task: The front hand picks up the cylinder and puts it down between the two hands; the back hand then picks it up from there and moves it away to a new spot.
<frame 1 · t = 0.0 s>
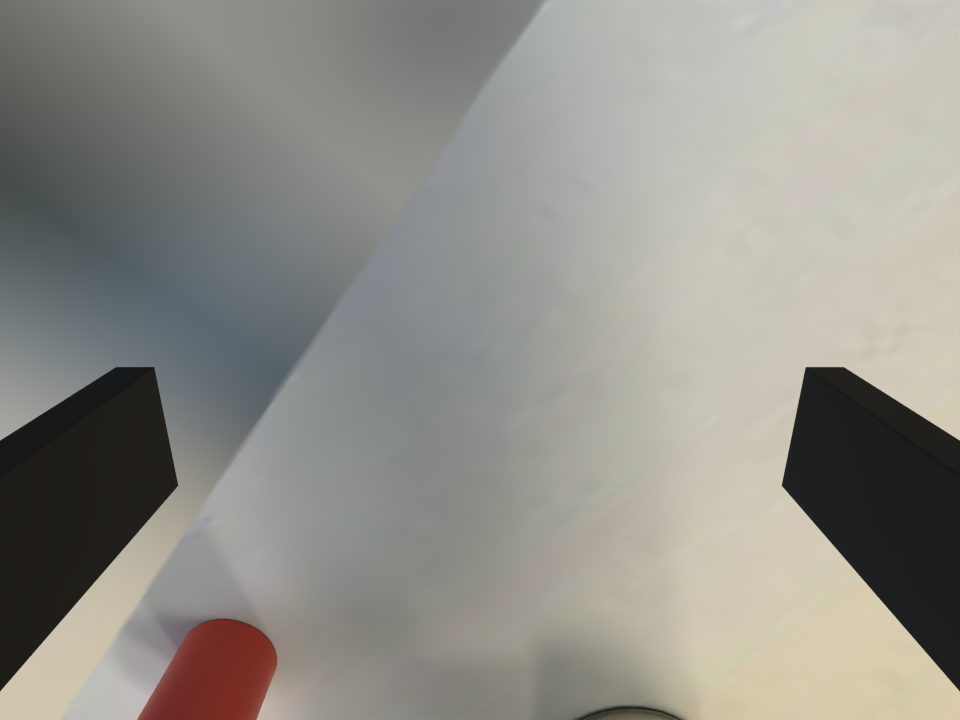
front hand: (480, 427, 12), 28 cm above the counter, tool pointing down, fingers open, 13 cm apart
cylinder: (230, 655, 51), on the counter
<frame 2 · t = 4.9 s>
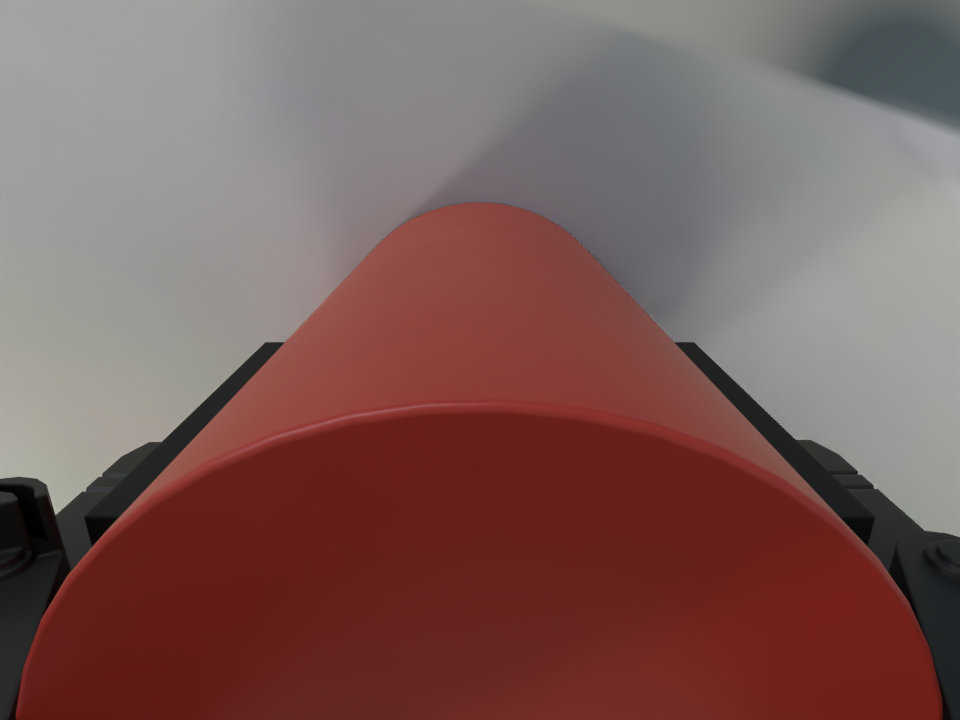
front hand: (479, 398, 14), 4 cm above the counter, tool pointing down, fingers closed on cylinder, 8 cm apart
cylinder: (479, 344, 17), on the counter, touching front hand
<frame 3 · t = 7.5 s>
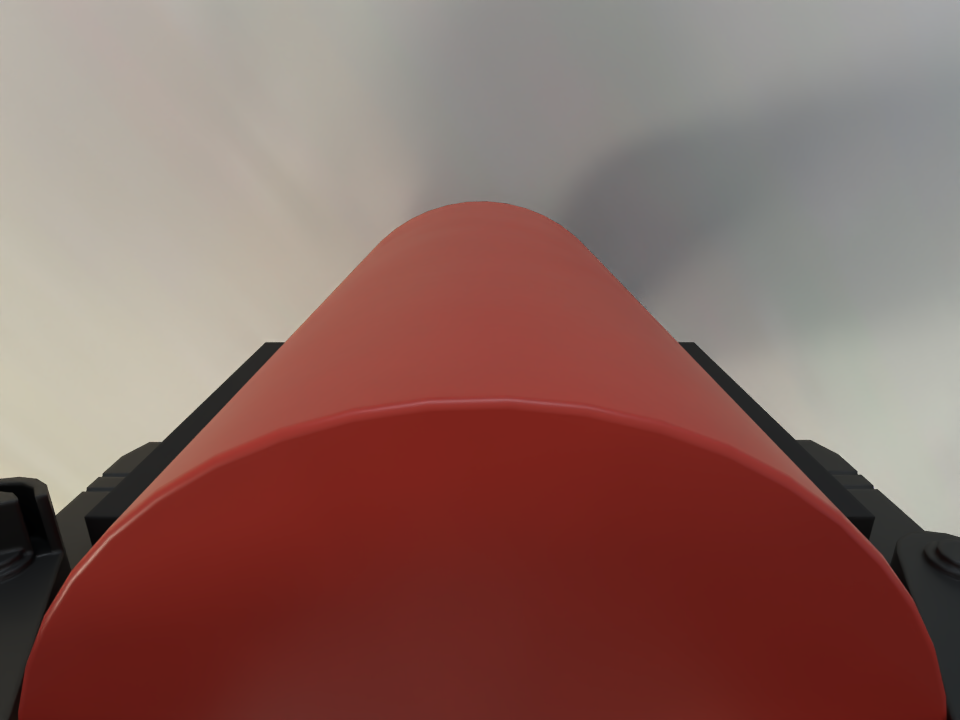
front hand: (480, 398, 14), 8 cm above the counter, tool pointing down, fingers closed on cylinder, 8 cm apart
cylinder: (480, 343, 17), point 4 cm above the counter, touching front hand
when the front hand's fingers open (5 cm above the counter, at t = 10.3 s): cylinder drops 1 cm, on the counter.
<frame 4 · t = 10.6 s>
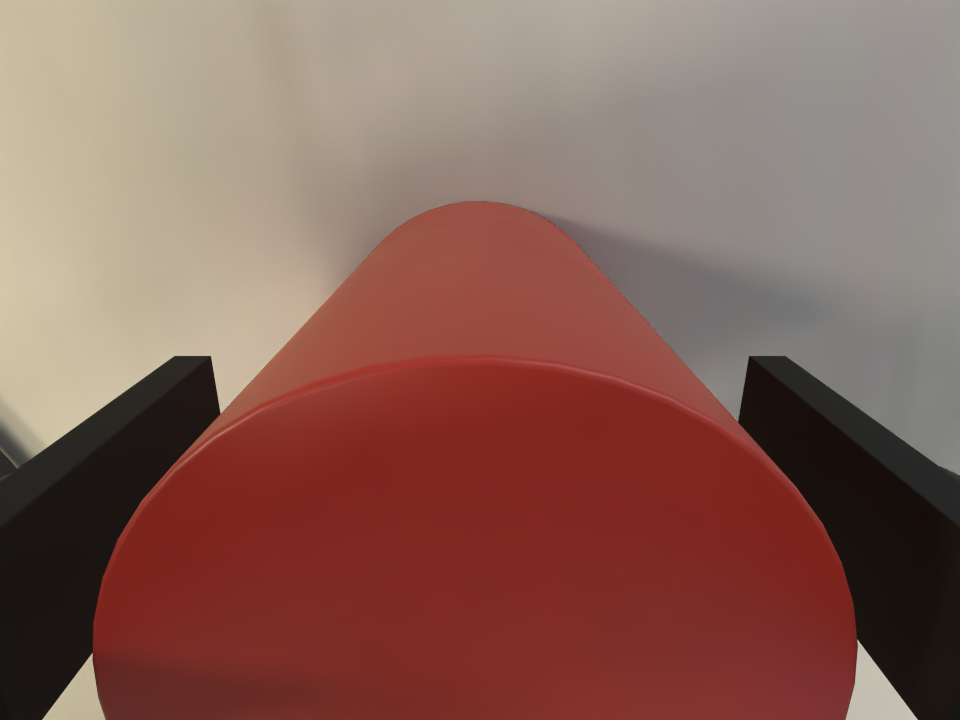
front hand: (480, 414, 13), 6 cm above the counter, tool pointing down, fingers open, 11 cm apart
cylinder: (478, 335, 18), on the counter
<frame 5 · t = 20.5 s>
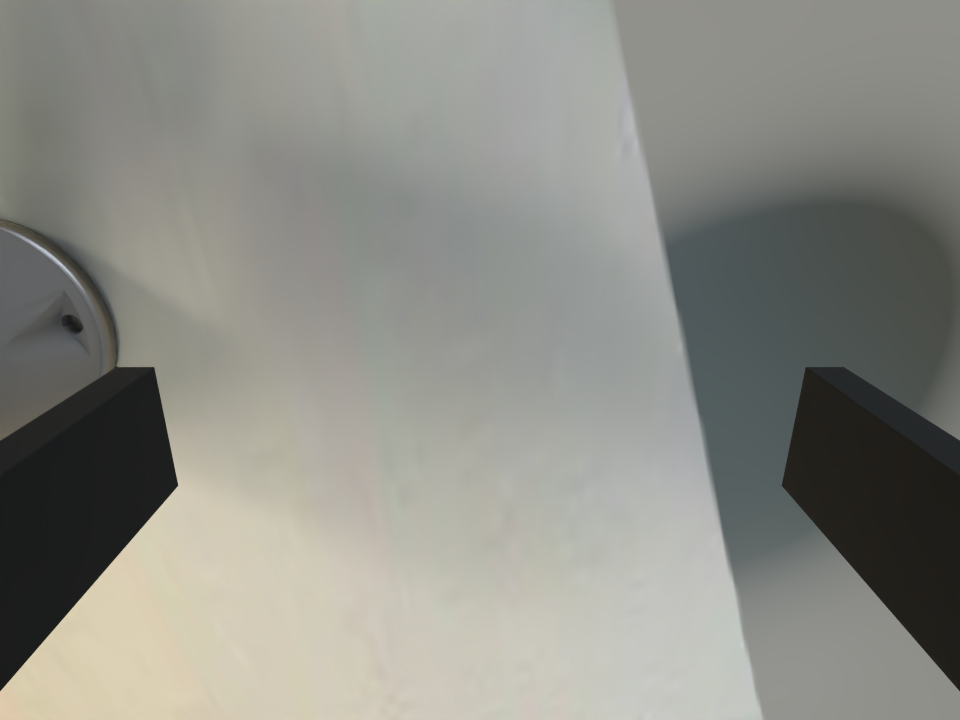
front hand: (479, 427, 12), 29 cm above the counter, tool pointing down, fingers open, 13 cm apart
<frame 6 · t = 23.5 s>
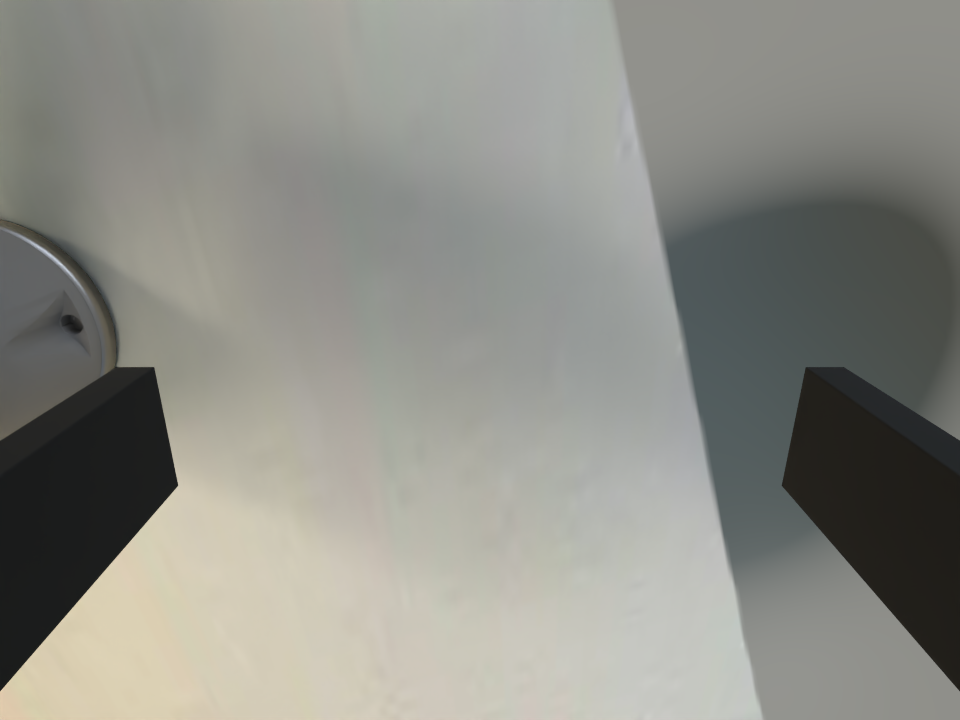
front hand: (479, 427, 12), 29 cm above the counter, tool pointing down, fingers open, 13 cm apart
when the back hand's fingers open (5 cm above the counter, at t = 26.6 s): cylinder stays where it is, on the counter.
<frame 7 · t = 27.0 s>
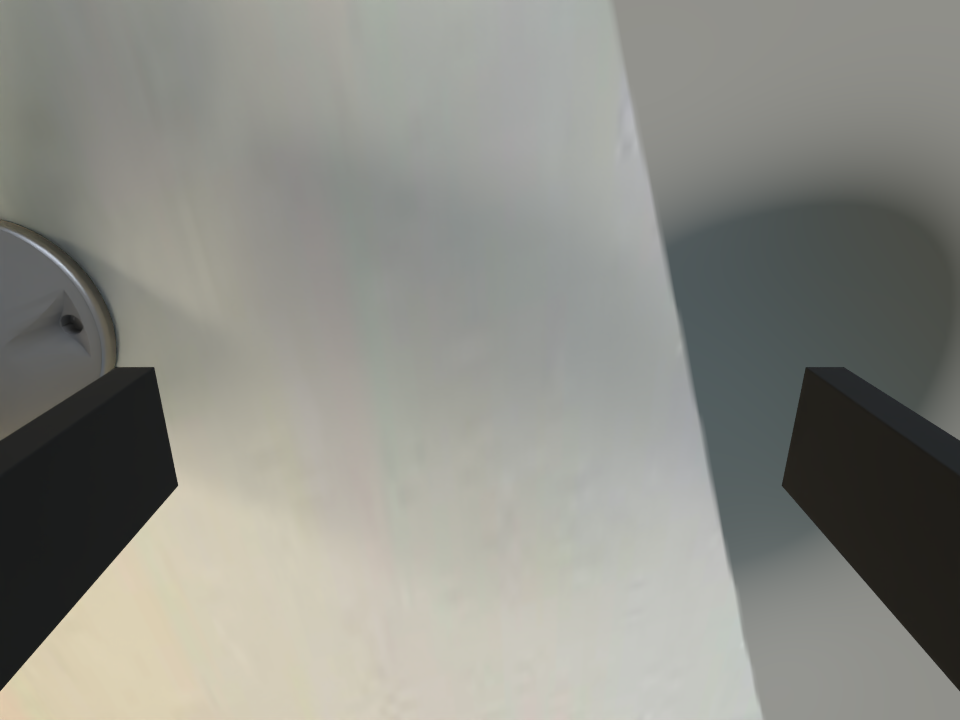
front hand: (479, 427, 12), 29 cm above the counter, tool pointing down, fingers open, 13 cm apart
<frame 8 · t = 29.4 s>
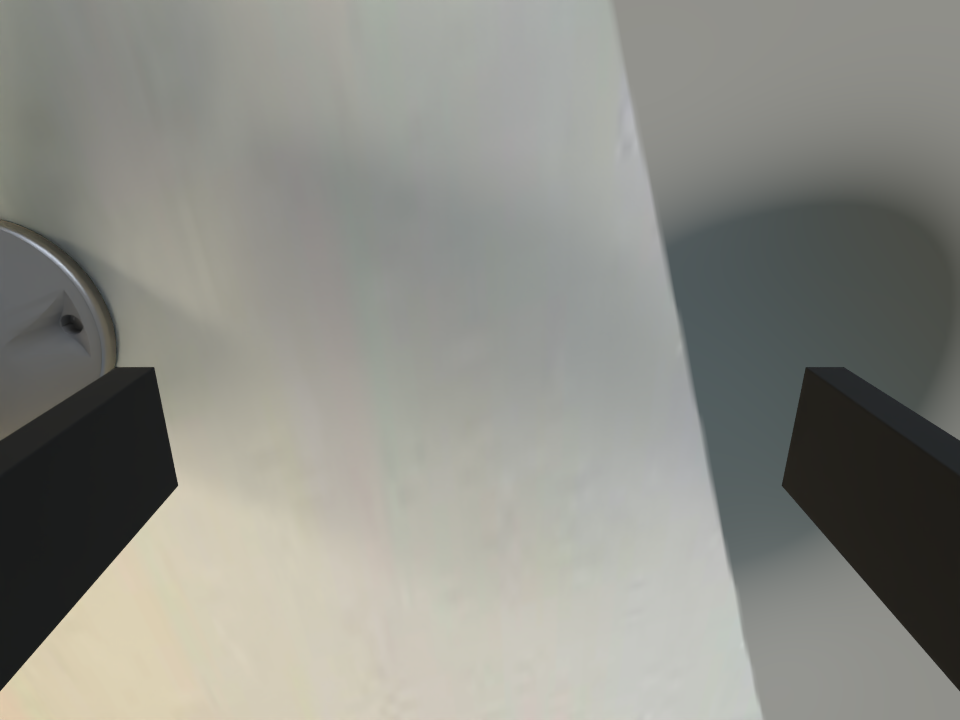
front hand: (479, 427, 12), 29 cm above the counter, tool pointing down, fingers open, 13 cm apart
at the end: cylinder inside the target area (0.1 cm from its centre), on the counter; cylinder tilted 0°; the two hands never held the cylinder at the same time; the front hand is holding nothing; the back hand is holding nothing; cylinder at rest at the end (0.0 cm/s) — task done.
